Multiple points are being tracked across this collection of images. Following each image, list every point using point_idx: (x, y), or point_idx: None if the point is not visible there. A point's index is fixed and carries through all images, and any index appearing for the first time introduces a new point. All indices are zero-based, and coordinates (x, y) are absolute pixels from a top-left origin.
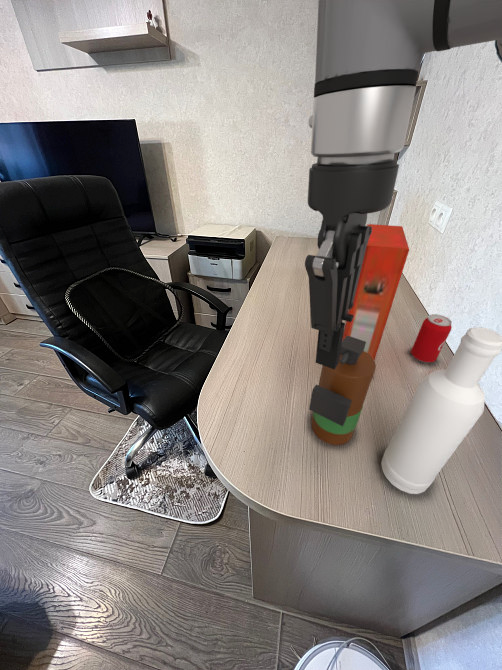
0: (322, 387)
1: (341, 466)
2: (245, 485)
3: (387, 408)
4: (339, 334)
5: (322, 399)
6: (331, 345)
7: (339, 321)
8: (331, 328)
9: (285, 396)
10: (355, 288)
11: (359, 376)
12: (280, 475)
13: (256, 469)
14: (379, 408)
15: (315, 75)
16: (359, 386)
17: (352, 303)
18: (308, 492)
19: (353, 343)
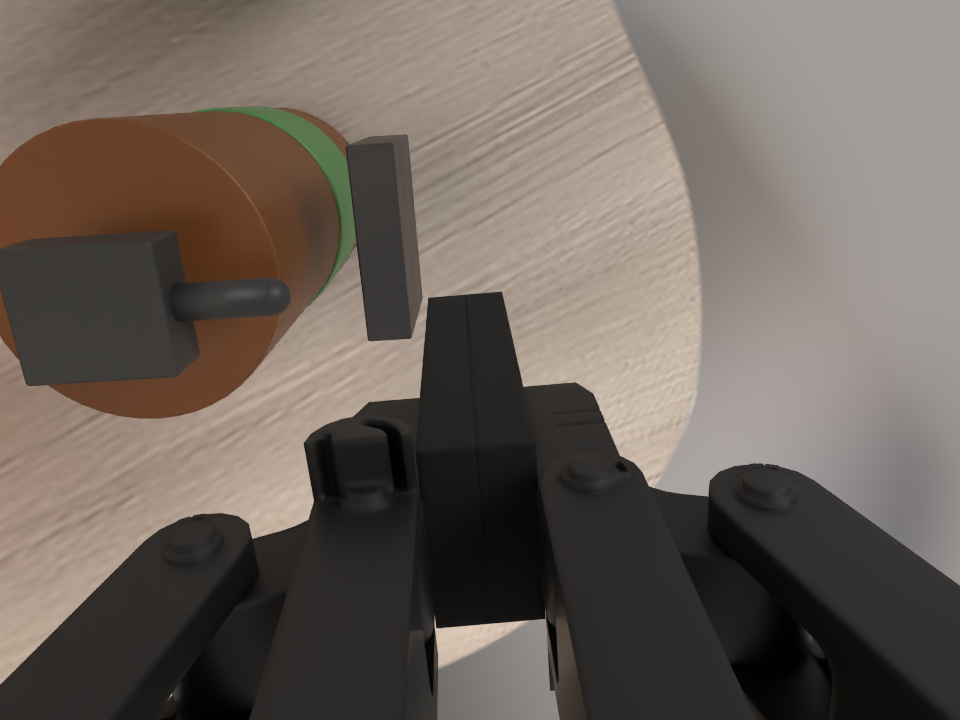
0: (366, 306)
1: (417, 86)
2: (683, 317)
3: (8, 34)
4: (528, 417)
5: (408, 271)
6: (564, 406)
7: (594, 505)
8: (856, 512)
9: (284, 419)
10: (61, 696)
11: (216, 173)
12: (586, 247)
13: (617, 322)
14: (37, 66)
15: None
16: (234, 151)
17: (188, 551)
18: (579, 139)
19: (80, 313)
